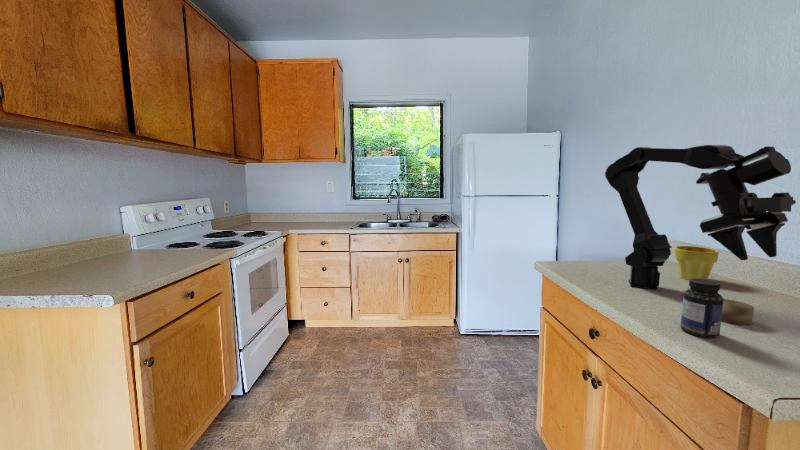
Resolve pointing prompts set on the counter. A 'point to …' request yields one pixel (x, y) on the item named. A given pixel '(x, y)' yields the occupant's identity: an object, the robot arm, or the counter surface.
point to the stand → (737, 312)
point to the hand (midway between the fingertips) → (759, 258)
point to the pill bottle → (702, 308)
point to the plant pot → (695, 261)
